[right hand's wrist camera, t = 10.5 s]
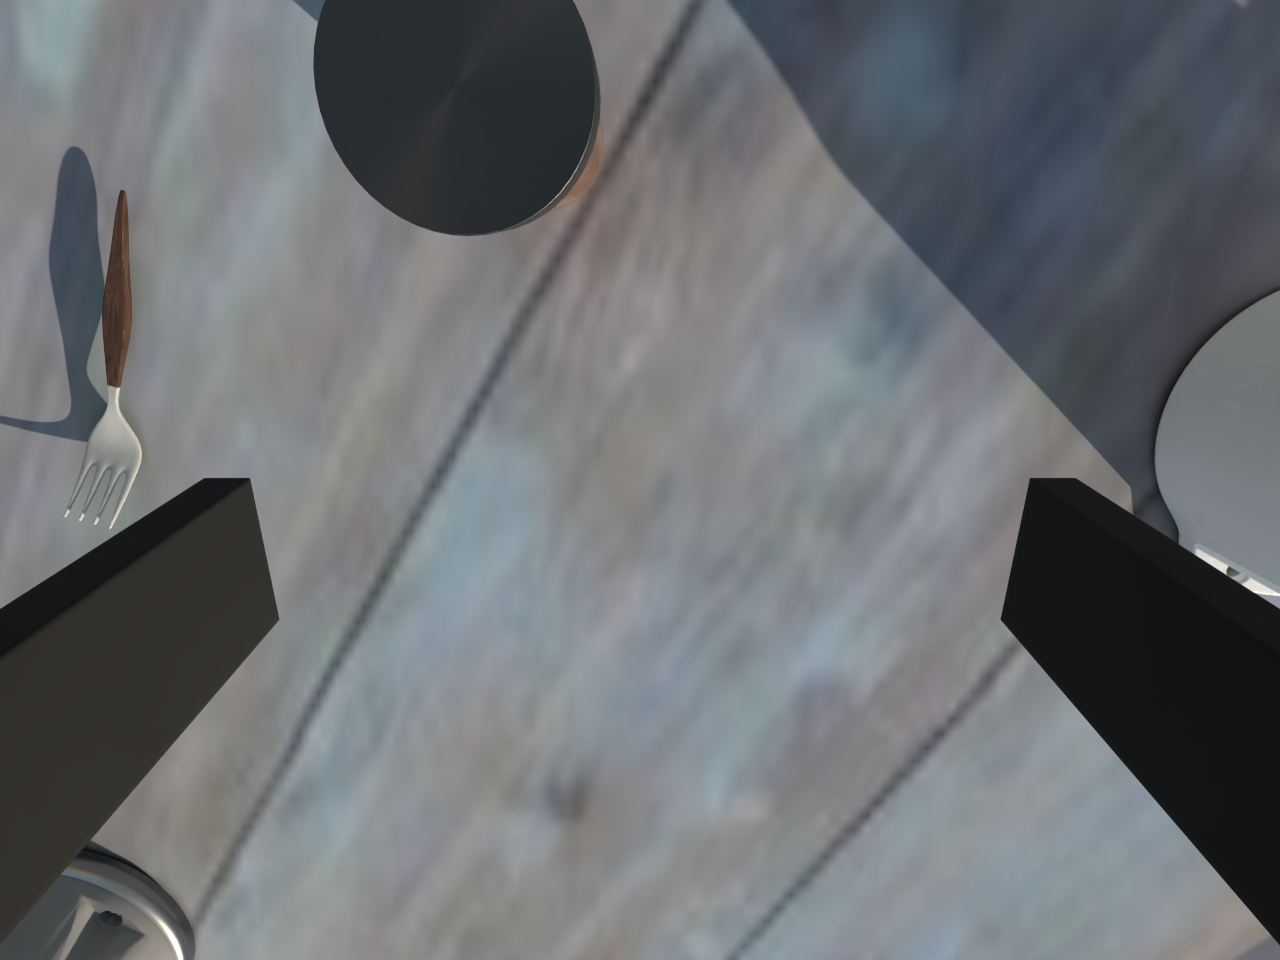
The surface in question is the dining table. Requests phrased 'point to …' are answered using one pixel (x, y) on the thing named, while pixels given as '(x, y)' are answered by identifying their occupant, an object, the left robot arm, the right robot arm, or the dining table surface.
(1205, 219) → the dining table surface
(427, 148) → the lid
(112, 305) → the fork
